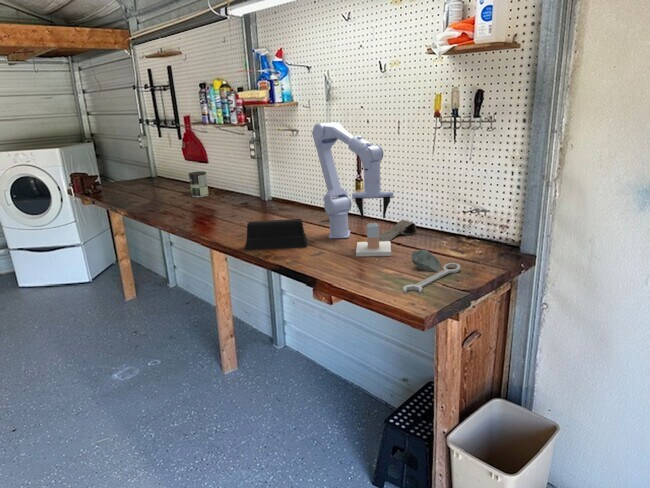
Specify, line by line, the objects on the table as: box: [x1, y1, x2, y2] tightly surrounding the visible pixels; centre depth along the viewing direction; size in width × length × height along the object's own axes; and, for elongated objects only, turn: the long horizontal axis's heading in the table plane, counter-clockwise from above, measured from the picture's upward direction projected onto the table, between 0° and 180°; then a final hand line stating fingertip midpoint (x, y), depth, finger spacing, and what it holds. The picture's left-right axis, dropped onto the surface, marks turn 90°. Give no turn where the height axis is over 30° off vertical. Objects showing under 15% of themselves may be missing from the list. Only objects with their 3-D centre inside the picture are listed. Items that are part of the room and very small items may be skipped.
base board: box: [355, 240, 392, 257], centre depth 168 cm, size 12×12×2 cm
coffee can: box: [188, 171, 210, 198], centre depth 288 cm, size 10×10×14 cm
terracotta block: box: [366, 237, 379, 249], centre depth 167 cm, size 4×4×4 cm
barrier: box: [243, 218, 309, 252], centre depth 179 cm, size 24×9×10 cm, turn 89°
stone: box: [411, 249, 441, 273], centre depth 151 cm, size 11×4×10 cm
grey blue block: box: [366, 222, 380, 239], centre depth 166 cm, size 4×4×4 cm
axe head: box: [379, 219, 417, 242], centre depth 183 cm, size 21×5×10 cm
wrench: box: [402, 262, 461, 294], centre depth 139 cm, size 26×6×2 cm, turn 134°
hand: (373, 218), depth 171 cm, fingers open, 7 cm apart
